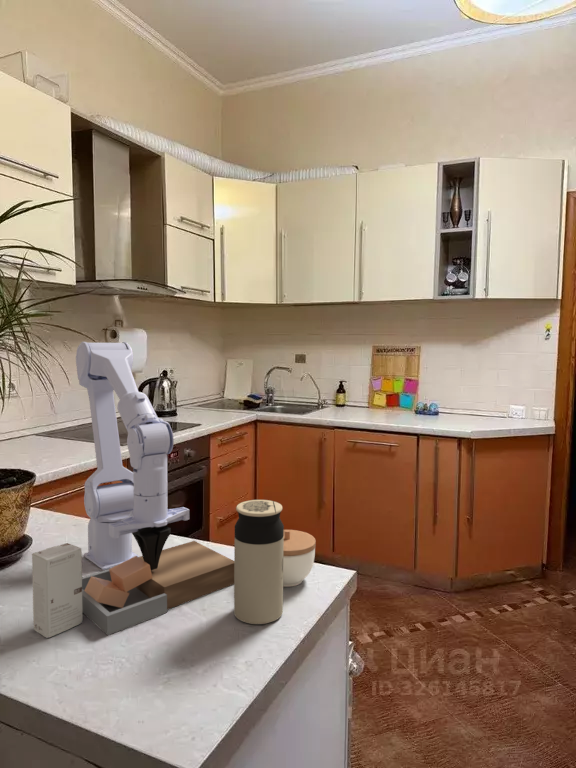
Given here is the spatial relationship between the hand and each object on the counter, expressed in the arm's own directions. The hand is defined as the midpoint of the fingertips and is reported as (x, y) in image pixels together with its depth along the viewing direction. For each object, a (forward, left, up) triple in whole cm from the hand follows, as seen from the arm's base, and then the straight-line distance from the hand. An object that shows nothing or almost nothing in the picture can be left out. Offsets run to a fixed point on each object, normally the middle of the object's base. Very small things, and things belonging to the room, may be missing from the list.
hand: (151, 567), depth 94 cm
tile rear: (0, -4, -1) cm, 4 cm away
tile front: (0, -7, -1) cm, 8 cm away
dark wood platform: (0, +6, -5) cm, 8 cm away
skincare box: (0, -16, -5) cm, 17 cm away
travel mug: (+18, +10, -5) cm, 21 cm away
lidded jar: (+12, +22, -5) cm, 25 cm away
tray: (0, -6, -5) cm, 8 cm away
